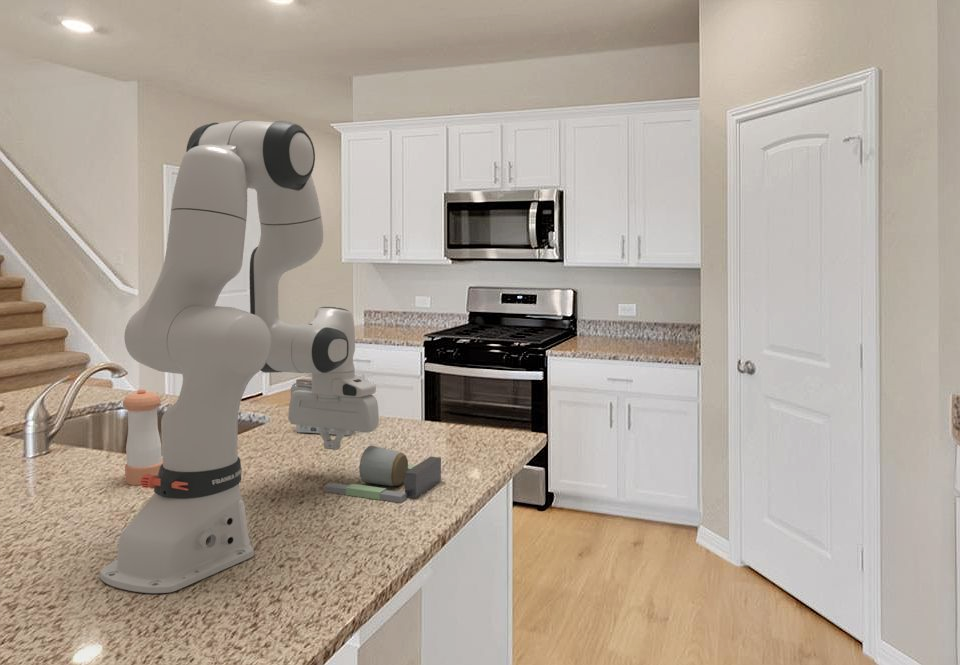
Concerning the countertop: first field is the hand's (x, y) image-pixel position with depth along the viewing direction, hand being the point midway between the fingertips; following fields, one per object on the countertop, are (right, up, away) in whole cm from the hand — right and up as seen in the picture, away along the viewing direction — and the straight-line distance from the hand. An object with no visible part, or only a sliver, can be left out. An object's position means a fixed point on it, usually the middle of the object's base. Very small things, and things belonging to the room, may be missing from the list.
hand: (332, 449), depth 148 cm
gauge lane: (+11, -7, -2) cm, 13 cm away
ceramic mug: (+12, -7, -1) cm, 14 cm away
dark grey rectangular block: (+20, -7, -6) cm, 22 cm away
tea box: (-9, -2, +41) cm, 43 cm away
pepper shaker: (-39, -6, -2) cm, 39 cm away
